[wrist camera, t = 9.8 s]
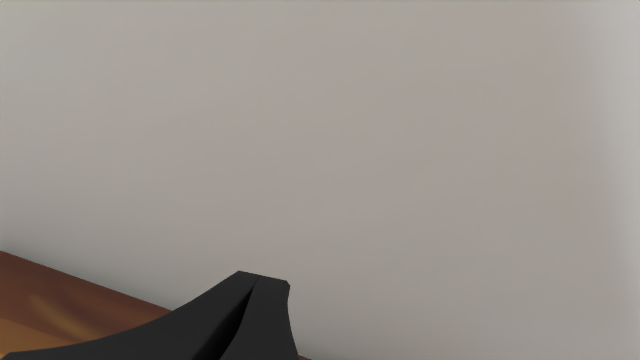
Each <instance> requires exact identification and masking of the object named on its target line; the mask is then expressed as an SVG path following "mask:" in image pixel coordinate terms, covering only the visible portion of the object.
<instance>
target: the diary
mask: <svg viewBox="0 0 640 360" xmlns="http://www.w3.org/2000/svg"><path fill="white" fill-rule="evenodd" d="M170 312H172V311H171V310H168V309H165V308H162V307H160V306H157V305H154V304H151V303H148V302H145V301H142V300H140V299H137V298H134V297H131V296H128V295H125V294H122V293H120V292H117V291H114V290H111V289H108V288H105V287H103V286H100V285H97V284H94V283H91V282H88V281H85V280H83V279H80V278H77V277H74V276H71V275H68V274H65V273H63V272H60V271H57V270H54V269H51V268H48V267H46V266H43V265H40V264H37V263H34V262H31V261H28V260H26V259H23V258H20V257H17V256H14V255H11V254H8V253H6V252H3V251H0V359H2V358H3V357H4V356H5V355H6V354H8V353H9V352H19V351H28V350H37V349H46V348H54V347H60V346H66V345H71V344H77V343H82V342H86V341H90V340H95V339H99V338H102V337H106V336H109V335H112V334H116V333H119V332H122V331H126V330H129V329H132V328H135V327H137V326H140V325H142V324H145V323H147V322H150V321H152V320H155V319H157V318H159V317H162V316H164V315H166V314H168V313H170ZM299 358H300V360H311V359H308V358H305V357H302V356H299Z"/></svg>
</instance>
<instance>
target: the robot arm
mask: <svg viewBox="0 0 640 360" xmlns="http://www.w3.org/2000/svg"><path fill="white" fill-rule="evenodd" d="M289 290H290V285H289V284H288V282H287V281H285V280H281V279H276V278H271V277H267V276H262V275H257V274H252V273H248V272H243V271H237V272H236V273H234V274H233V275H231V276H229V277H228V278H226V279H225V280H223V281H222V282H220V283H219V284H217V285H216V286H214V287H213V288H211V289H210V290H208V291H207V292H205V293H203V294H202V295H200V296H199V297H197V298H195V299H194V300H192V301H190V302H188V303H187V304H185V305H183V306H181V307H179V308H177V309H175V310H174V311H172V312H170V313H168V314H166V315H164V316H162V317H159V318H157V319H155V320H152V321H150V322H147V323H145V324H142V325H140V326H137V327H135V328H132V329H129V330H126V331H122V332H119V333H116V334H112V335H109V336H106V337H102V338H99V339H95V340H90V341H86V342H82V343H77V344H71V345H66V346H60V347H54V348H46V349H37V350H28V351H19V352H9V353H8V354H6V355H5V356H4V357H3V358H2V359H0V360H300V358H299V355H298V352H297V349H296V346H295V343H294V339H293V336H292V332H291V327H290V321H289V315H288V305H287V302H288V296H289Z"/></svg>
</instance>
